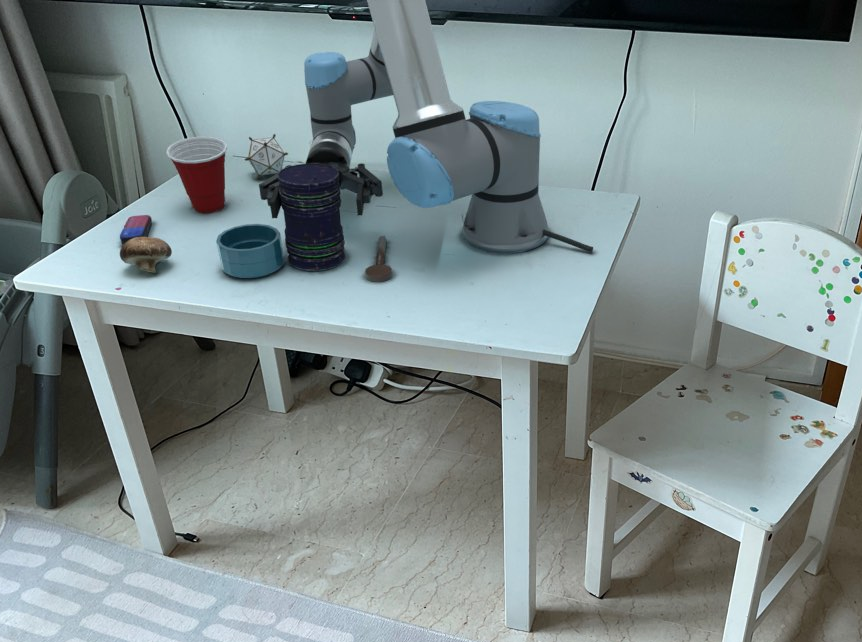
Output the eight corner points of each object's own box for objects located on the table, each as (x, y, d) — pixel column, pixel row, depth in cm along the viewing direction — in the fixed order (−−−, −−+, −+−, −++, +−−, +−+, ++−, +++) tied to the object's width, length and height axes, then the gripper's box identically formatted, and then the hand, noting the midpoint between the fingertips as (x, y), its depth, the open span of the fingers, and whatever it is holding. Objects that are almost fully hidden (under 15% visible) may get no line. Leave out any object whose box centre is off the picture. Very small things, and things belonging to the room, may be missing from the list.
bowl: (295, 257, 154) (290, 227, 151) (266, 284, 146) (260, 253, 143) (242, 250, 157) (236, 220, 153) (211, 276, 149) (204, 246, 145)
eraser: (131, 222, 166) (128, 213, 165) (154, 220, 167) (151, 211, 166) (119, 247, 157) (117, 237, 156) (143, 245, 158) (141, 236, 157)
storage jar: (278, 253, 155) (267, 169, 146) (331, 242, 159) (324, 159, 151) (301, 275, 148) (291, 188, 139) (355, 263, 152) (349, 178, 144)
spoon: (370, 242, 159) (369, 234, 158) (395, 241, 159) (394, 234, 159) (364, 282, 147) (364, 274, 146) (391, 281, 147) (391, 273, 146)
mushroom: (150, 267, 144) (142, 229, 144) (114, 279, 147) (105, 242, 147) (185, 269, 152) (177, 233, 152) (149, 281, 155) (141, 246, 155)
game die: (276, 188, 189) (293, 143, 188) (280, 188, 181) (298, 142, 180) (234, 170, 185) (252, 124, 184) (237, 170, 177) (255, 122, 176)
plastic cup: (178, 222, 166) (163, 159, 159) (181, 199, 175) (167, 139, 168) (238, 216, 168) (226, 154, 161) (238, 194, 177) (227, 134, 170)
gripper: (400, 179, 163) (396, 228, 146) (262, 183, 162) (241, 233, 145) (397, 138, 159) (392, 184, 142) (255, 142, 158) (232, 189, 140)
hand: (316, 209), depth 143 cm, fingers open, 13 cm apart
